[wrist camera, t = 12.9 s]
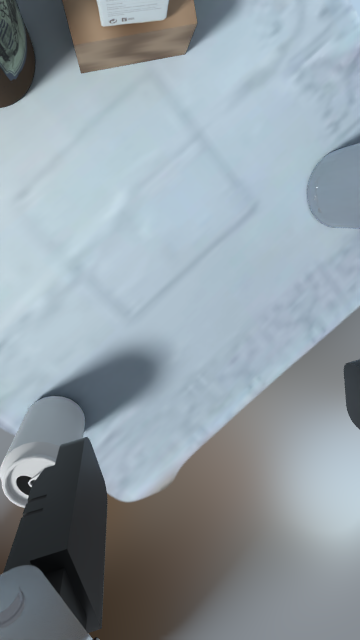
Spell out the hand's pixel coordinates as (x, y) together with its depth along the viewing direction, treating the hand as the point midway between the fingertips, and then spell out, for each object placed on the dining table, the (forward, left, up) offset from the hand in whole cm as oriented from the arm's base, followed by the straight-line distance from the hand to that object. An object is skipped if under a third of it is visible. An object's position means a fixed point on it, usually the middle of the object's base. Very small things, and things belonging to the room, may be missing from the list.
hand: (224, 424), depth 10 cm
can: (+16, +16, -33) cm, 40 cm away
